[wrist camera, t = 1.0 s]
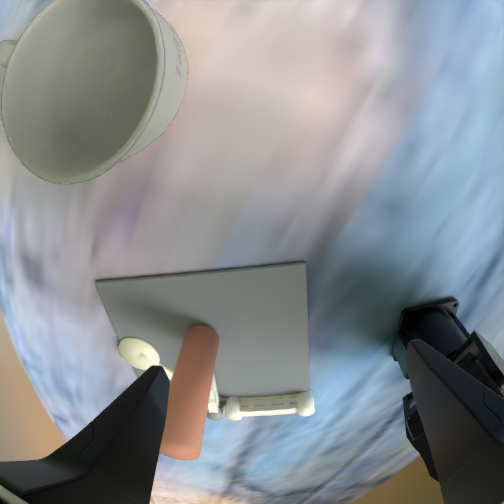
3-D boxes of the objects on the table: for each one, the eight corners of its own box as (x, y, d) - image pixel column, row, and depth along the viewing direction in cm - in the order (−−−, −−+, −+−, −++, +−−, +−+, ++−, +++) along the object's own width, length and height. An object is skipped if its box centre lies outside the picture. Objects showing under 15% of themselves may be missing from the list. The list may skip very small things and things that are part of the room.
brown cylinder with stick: (230, 409, 29) (221, 498, 19) (203, 408, 29) (188, 495, 19) (217, 325, 24) (194, 442, 14) (182, 325, 24) (146, 436, 14)
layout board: (305, 261, 22) (306, 266, 22) (308, 399, 29) (309, 405, 29) (91, 281, 24) (87, 285, 23) (150, 402, 31) (149, 407, 30)
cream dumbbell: (312, 387, 29) (314, 406, 26) (312, 397, 29) (314, 415, 27) (225, 393, 29) (223, 411, 27) (228, 403, 30) (226, 420, 28)
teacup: (234, 73, 17) (215, 44, 10) (135, 190, 20) (77, 228, 13) (104, -13, 13) (48, -47, 6) (29, 94, 17) (-39, 100, 9)
